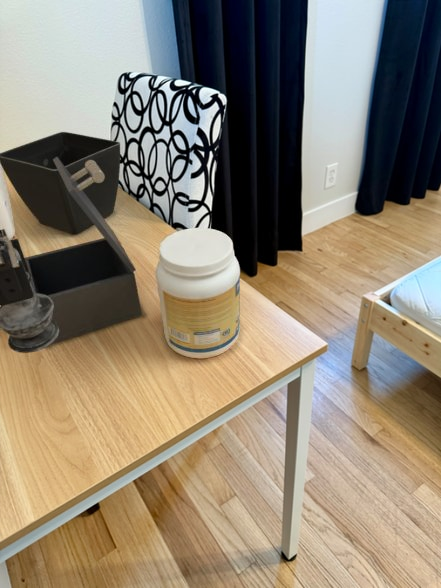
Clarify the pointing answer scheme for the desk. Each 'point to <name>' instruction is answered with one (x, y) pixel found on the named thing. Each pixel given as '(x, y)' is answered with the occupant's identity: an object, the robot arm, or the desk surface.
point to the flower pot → (50, 186)
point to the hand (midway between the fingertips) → (14, 286)
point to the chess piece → (29, 321)
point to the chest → (85, 287)
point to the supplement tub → (199, 292)
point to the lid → (87, 205)
